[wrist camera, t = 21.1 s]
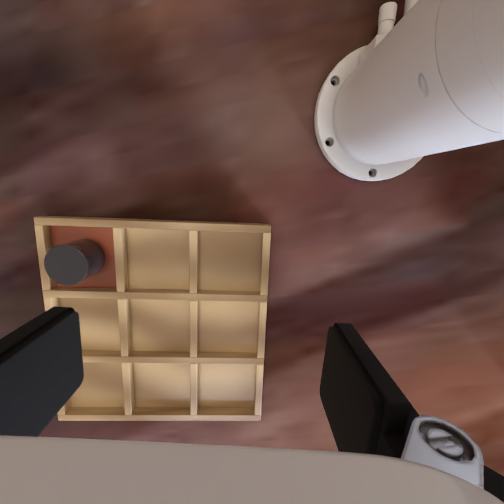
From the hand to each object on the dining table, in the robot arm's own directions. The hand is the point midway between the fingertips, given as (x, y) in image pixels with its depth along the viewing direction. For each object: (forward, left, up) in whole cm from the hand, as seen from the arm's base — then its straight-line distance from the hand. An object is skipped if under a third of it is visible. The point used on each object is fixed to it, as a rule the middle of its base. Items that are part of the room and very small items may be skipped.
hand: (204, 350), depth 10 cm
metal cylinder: (+1, -15, -20) cm, 25 cm away
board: (+9, -7, -21) cm, 24 cm away
